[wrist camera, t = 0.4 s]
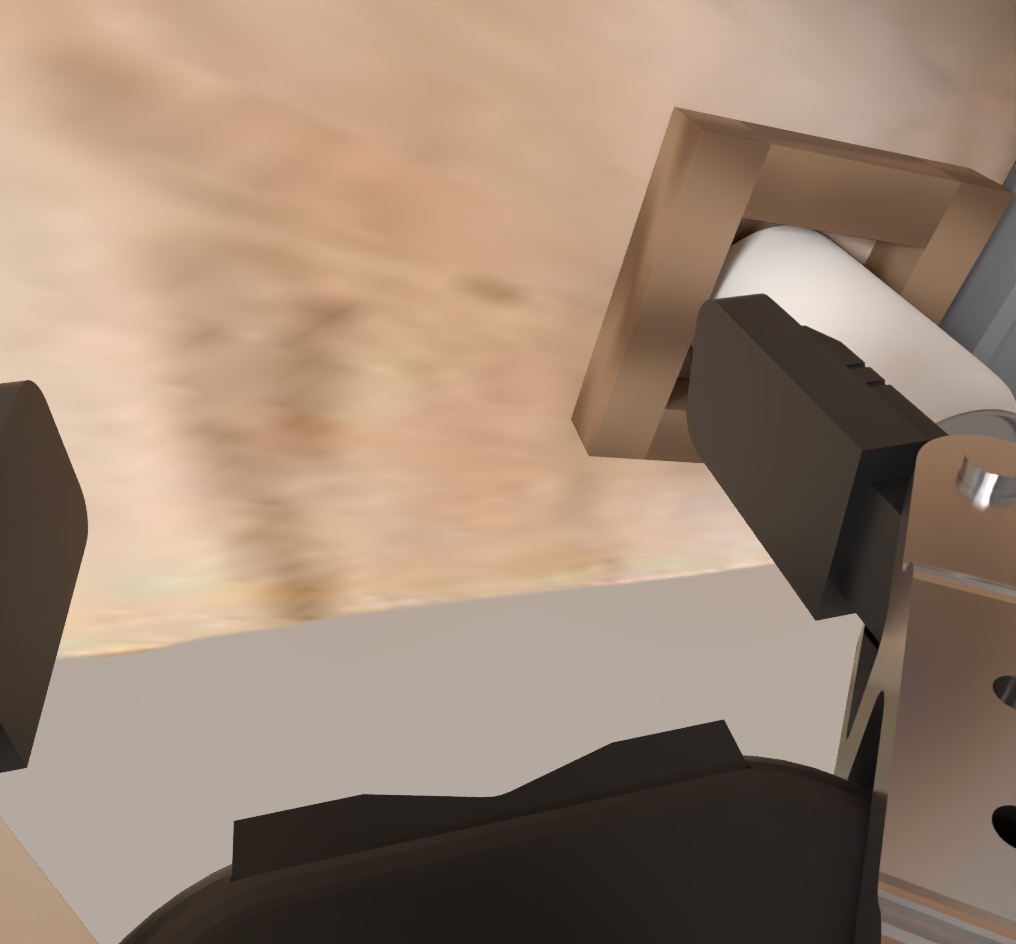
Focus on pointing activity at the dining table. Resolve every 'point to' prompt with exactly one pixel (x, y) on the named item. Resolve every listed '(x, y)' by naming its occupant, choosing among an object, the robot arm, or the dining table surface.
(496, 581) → the dining table surface
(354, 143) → the dining table surface
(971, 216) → the square wooden frame
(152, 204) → the dining table surface
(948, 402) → the can
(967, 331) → the tray
